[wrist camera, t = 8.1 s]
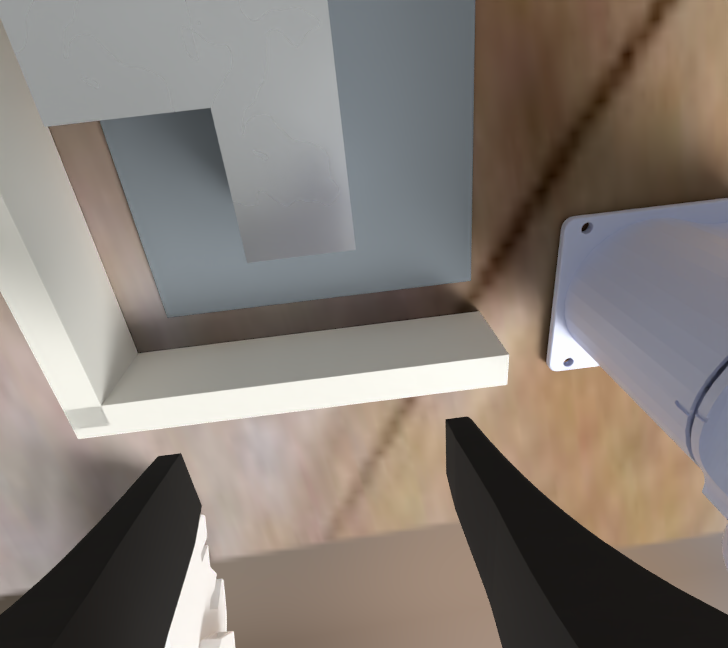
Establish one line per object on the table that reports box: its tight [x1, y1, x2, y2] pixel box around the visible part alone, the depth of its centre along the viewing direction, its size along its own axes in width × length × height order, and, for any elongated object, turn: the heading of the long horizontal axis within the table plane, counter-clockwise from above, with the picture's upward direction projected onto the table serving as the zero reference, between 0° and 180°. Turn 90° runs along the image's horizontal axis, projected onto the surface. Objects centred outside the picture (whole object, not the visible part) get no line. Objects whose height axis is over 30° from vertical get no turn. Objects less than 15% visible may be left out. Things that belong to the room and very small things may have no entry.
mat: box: [100, 0, 475, 318], centre depth 18 cm, size 14×12×1 cm
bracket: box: [0, 0, 356, 263], centre depth 15 cm, size 8×8×5 cm
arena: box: [0, 18, 509, 439], centre depth 16 cm, size 18×18×4 cm
